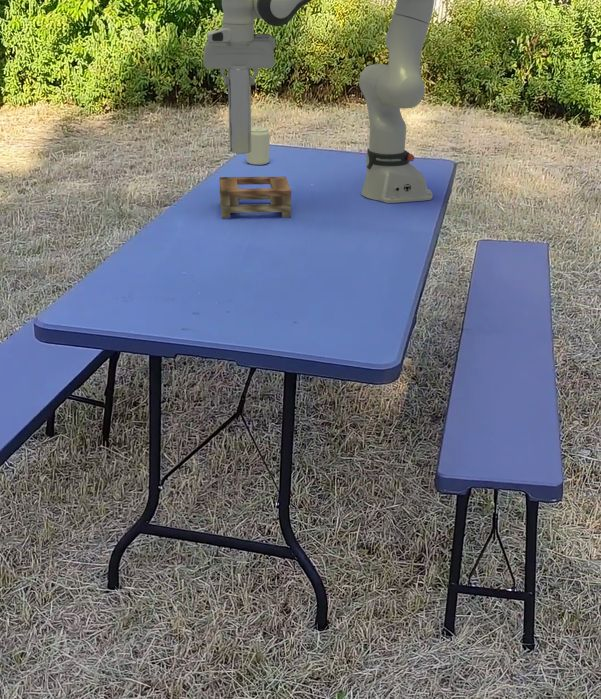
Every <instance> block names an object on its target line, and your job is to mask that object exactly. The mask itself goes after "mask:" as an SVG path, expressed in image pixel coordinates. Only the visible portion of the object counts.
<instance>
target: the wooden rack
mask: <svg viewBox="0 0 601 699" xmlns="http://www.w3.org/2000/svg"><path fill="white" fill-rule="evenodd" d="M218 179H219V205H220V213H221V214H220V215H221V216H222V217H221V219H222V218H228V219H231V214H234V213H235V214H237V213H238V214H240V213H241V214H243V213H281V218H283V219H284V218H285V219H286V218H290V219H291V215H292V190H291V187H290V183H289V181H288V179H287V176H224V177H223V176H220V177H219V178H218ZM239 185H240V186H242V185H243V186H244V185H270V186H269V187H270V188H239ZM250 200H251V201H252V200H255V201H258V200H259V201H260V200H261V201H263V200H269V201H270V203H269V204H268V203H265V204H263V203H262V204H253V203H252V204H239V201H250Z"/></svg>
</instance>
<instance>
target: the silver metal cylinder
mask: <svg viewBox="0 0 601 699" xmlns="http://www.w3.org/2000/svg"><path fill="white" fill-rule="evenodd" d="M227 78H228V79H229V85H227V86H228V87H227V88H228V89H227V90H228V91H227V92H228V93H227V94H228V95H227V96H228V97H227V99H228V127H229V128H228V130H229V152H230V153H232V154H236V155H243V154H244V155H246V153H250V152H251V151H252V150H251V127H252V95H251V93H252V92H251V90H252V89H251V86H252V85H250V78H251V69H249V68H248V69H247V66H231V68H230V69H227Z"/></svg>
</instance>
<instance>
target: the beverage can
mask: <svg viewBox="0 0 601 699" xmlns="http://www.w3.org/2000/svg"><path fill="white" fill-rule="evenodd" d="M270 135H271V134H270V131H269V128H268V127H264V126H251V150H252V151H251V152H250V153H245V155H246V163H249V164H250V165H251V166H252V165H253V166H263V165H266V164H268V163H269V162H270V139H271V138H270Z"/></svg>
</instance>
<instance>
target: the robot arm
mask: <svg viewBox="0 0 601 699" xmlns="http://www.w3.org/2000/svg"><path fill="white" fill-rule="evenodd" d="M311 1H313V0H221V7H222V12H223V16H222V24H221V25H222V26H220V27H218V28H216V29H213V30H209V31H208V32H207V34H206V39H207V41H206V43H205V44H204V50H203V60H202V61H203V67H204V68H205V69H206V70H207V69H210V70H214V69H216V70H218V69H219V73H220V75H221V76H222V79H223V83H224V84H223V85H224V86H228V85H229V79H228V77H227V76H226V75H225V73H226V69H227V70H228V69H230V68H231V66H247V69H248V68H249V69H250V70H251V69H252V70H253V71H252V72H253V75H251V77H250V85H251V86H255V82H256V81H255V80H256V77H257V76H258V74H259V70H260V69H273V68H274V66H275V54H274V50H275V48H276V39H275V37H274V36H273V35H271V34H270V33H264V34H263V33H255V20H256V19H261V20H263V21H264V23H266V24H267V25H270V26H272V27H280V26H284V25H286V24H288V23H289V22H290V21H291V20H292V19H293V18H294V16H295V15H296V13H297V12H299V10H300V9H301V8H302V7H304V6H305V5H307V4H309V3H311ZM434 5H435V0H396V4H395V7H394V10H393V14H392V17H391V20H390V23H389V27H388V30H387V33H386V37H385V46H386V47H387V49H388V63H387V64H384V63H376V64H375V63H374V64H369V65H368V66H366V67H365V68H364V69H363V70H362V71H361V72H360V75H359V78H358V86H359V89H360V91H361V93H362V95H363V97H364V100H365V104H366V108H367V113H368V114H367V115H368V118H369V140H368V141H369V145H368V149H367V152H366V153H367V154H366V160H365V163H366V168H367V169H366V172H365V173H366V174H365V178H364V183H363V187H362V190H361V192H360V194H361V196H363V197H365V198H367V199H370V200H374V201H379V202H384V203H387V204H394V203H395V204H398V203H409V202H423V201H431V200H433V196H434V195H433V192H432V190H431V189H430V188H428V187H427V181H426V178H425V175H424V174H423V173H422V172H421V171H420V170H419V169H417V167H415V166H414V165H413V164H412V163H410V162H413V161H414V160H415V156H414V155H413V153H410V151H407V150H405V148H406V136H407V125H406V121H405V120H404V119H403V116H402V114H401V109H412V108H413V109H414V108H416V107H418V105H419V104H421V102H422V101H423V98H424V96H425V92H426V91H425V89H426V88H425V83H424V80H423V78H422V74H421V62H422V61H421V59H422V58H421V57H422V51H423V47H424V43H425V39H426V36H427V34H428V29H429V26H430V22H431V19H432V15H433V10H434Z"/></svg>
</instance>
